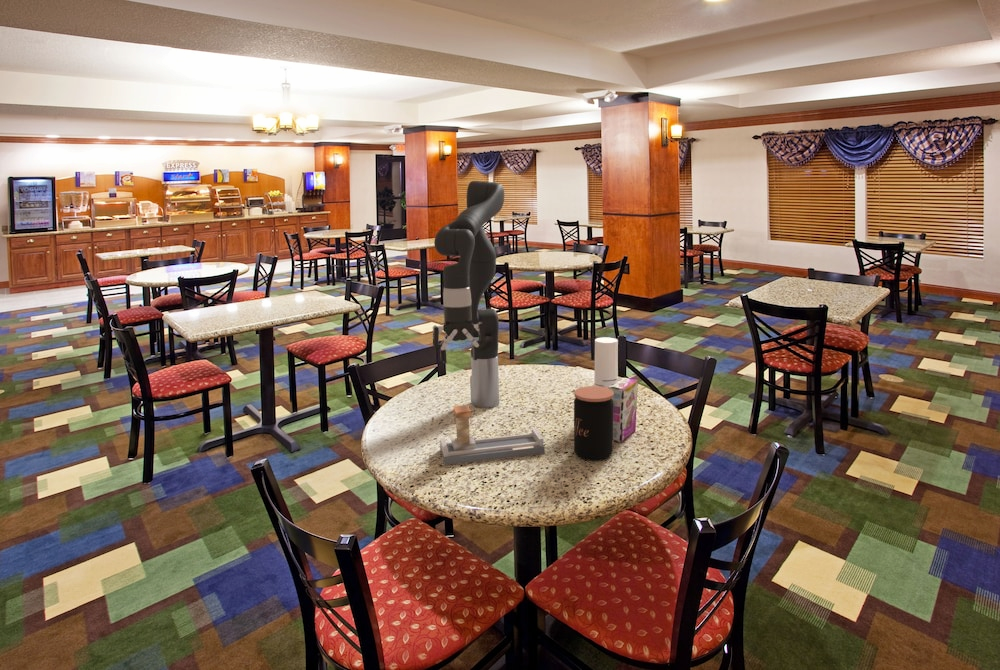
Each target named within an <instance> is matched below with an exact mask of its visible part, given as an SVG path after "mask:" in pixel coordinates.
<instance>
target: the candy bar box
mask: <svg viewBox="0 0 1000 670" xmlns="http://www.w3.org/2000/svg"><path fill="white" fill-rule="evenodd" d="M638 383H639V380H638V379H635V378H629V377H622V378H620V379H619V380H617V382H616V383H614V384H612V385H611V386H609V387H608V389H610V390H612V391H613V393H614V396H613V398H612V399H613V402H614V410H613V442H616V443H623V442H624V441H625V440H626V439H628V437H630V436H631V435H632V434H633V433H635V431H636V428H637V427H636V425H637V408H638V406H637V405H638V385H639V384H638Z"/></svg>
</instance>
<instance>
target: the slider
mask: <svg viewBox="0 0 1000 670" xmlns="http://www.w3.org/2000/svg"><path fill="white" fill-rule="evenodd" d="M452 409H453V413H454V416H455V423H456V425H455V426H456V438H451V441H450V442H452V448H453V450H454V451H461V450H469V449H476V443H475V441H474V437H473V435H472V436H470V421H469V420H470V417H472V410H471V409H470V407H469V405H468V404H465V405H463V404H462V405H454V406H453V408H452Z"/></svg>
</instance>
